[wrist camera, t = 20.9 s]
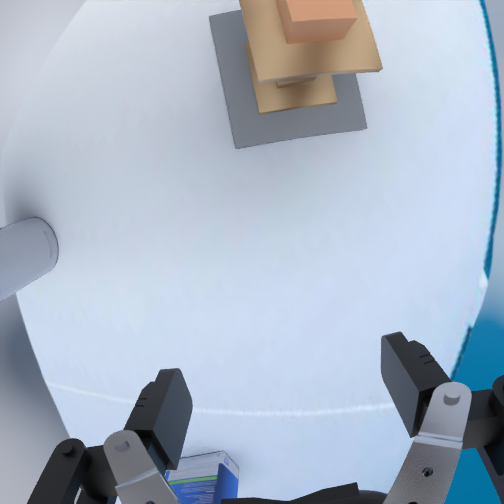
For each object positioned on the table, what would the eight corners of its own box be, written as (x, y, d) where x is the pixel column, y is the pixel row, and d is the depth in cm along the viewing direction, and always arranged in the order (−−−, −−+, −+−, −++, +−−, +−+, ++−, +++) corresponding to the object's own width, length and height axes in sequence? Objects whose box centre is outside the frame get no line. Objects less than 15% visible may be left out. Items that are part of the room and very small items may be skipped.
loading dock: (236, 149, 38) (235, 148, 36) (211, 23, 33) (208, 16, 31) (361, 130, 37) (367, 128, 34) (330, 8, 32) (333, 0, 30)
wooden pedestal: (259, 114, 35) (258, 80, 19) (244, 47, 32) (234, -20, 17) (334, 104, 34) (382, 68, 18) (318, 37, 32) (350, -29, 16)
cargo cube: (287, 44, 18) (292, 21, 14) (275, -1, 17) (277, -28, 13) (342, 39, 18) (357, 18, 14) (328, -5, 17) (339, -31, 13)
